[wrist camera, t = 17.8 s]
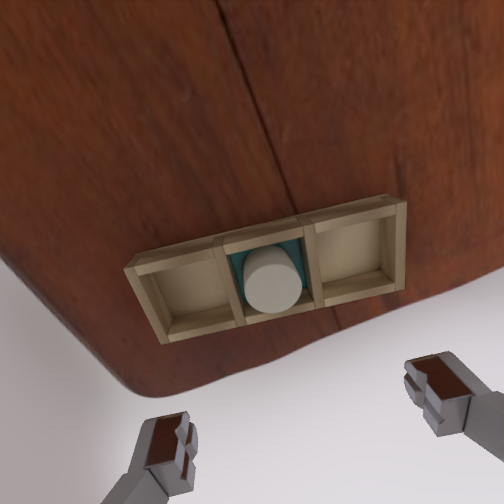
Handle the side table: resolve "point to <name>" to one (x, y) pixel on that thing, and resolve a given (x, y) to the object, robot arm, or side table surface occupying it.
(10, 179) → the side table surface
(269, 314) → the grid
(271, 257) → the cylinder
